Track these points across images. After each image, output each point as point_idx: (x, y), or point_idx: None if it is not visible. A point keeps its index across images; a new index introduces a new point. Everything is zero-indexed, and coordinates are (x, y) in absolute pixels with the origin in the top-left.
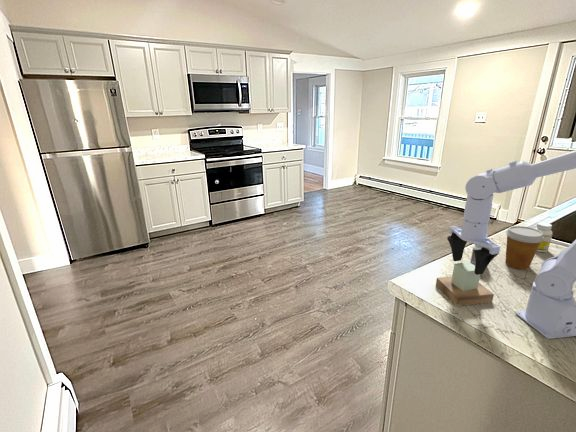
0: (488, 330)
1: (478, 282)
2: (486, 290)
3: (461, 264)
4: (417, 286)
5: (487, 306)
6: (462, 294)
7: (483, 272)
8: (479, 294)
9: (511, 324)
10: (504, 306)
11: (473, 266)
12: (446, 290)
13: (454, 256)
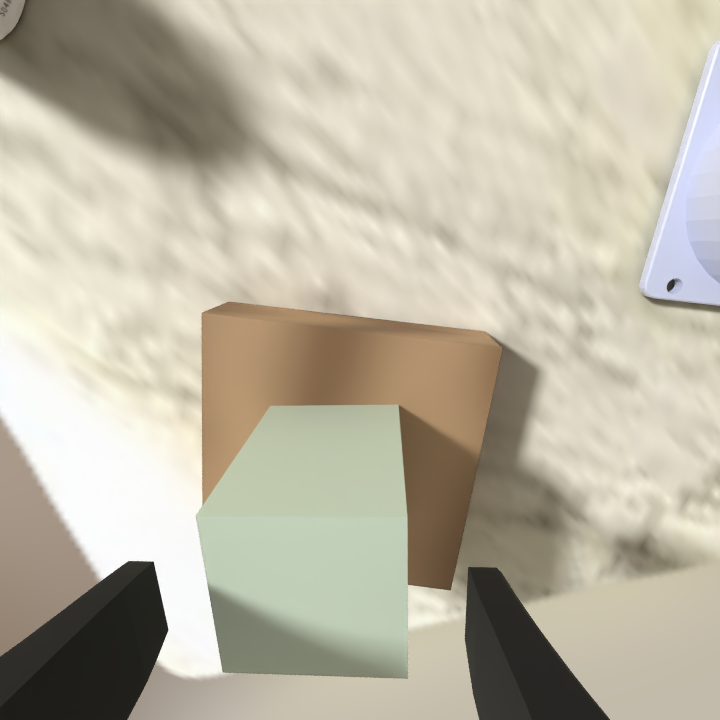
0: (669, 546)
1: (399, 428)
2: (442, 361)
3: (250, 624)
4: None
5: (509, 394)
6: (429, 545)
7: (505, 583)
8: (468, 448)
9: (696, 402)
10: (551, 291)
11: (323, 545)
12: None
13: (128, 714)
